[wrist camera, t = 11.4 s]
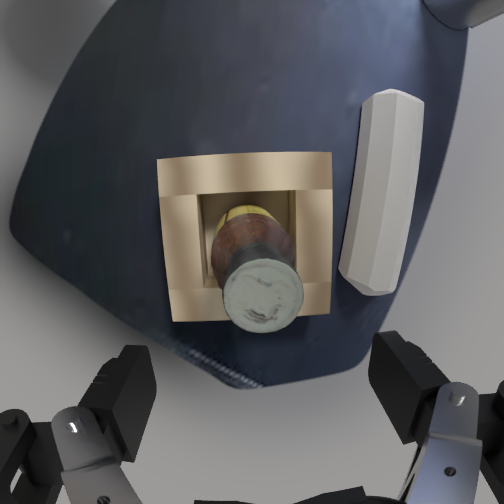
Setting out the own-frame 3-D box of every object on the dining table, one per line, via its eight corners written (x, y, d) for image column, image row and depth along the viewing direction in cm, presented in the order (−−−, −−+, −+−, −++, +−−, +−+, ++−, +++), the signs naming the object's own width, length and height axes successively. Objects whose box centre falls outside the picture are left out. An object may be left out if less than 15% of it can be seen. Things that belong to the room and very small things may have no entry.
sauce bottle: (241, 269, 36) (242, 380, 16) (205, 225, 34) (163, 296, 15) (289, 234, 35) (345, 312, 16) (254, 188, 33) (272, 213, 14)
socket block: (316, 155, 34) (331, 152, 28) (316, 292, 38) (329, 313, 32) (170, 161, 33) (157, 159, 28) (182, 299, 37) (173, 321, 32)
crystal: (411, 301, 35) (443, 103, 29) (379, 311, 31) (414, 79, 25) (366, 281, 41) (393, 102, 35) (330, 287, 37) (359, 83, 31)
